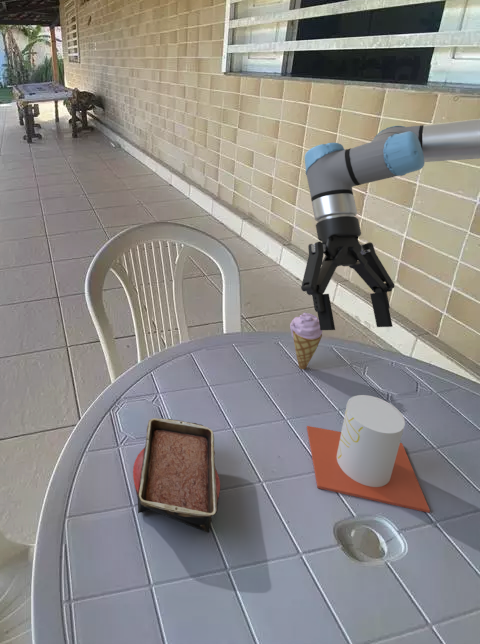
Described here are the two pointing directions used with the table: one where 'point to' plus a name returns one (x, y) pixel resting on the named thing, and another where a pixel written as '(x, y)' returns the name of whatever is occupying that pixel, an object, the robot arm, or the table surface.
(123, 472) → the table surface
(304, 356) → the ice cream cone
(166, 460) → the baking dish
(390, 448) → the cup
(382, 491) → the mat
